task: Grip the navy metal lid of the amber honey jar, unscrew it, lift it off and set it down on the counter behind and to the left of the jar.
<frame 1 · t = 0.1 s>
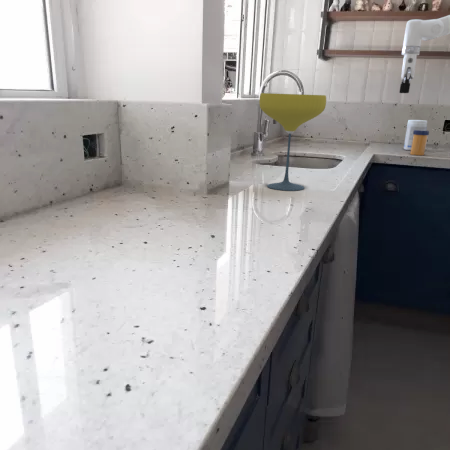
hand: (403, 93, 223), 27 cm above the worktop, tool pointing down, fingers open, 9 cm apart
honey jar: (417, 154, 234), on the worktop
supplement tub: (412, 150, 253), on the worktop
jar lid: (421, 131, 229), point 11 cm above the worktop, screwed on, not yet turned
cocktail glass: (285, 187, 141), on the worktop
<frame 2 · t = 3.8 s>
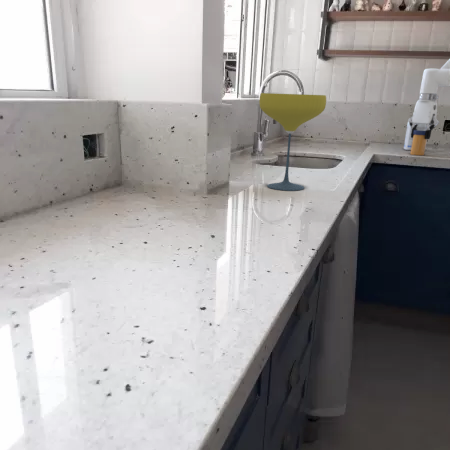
hand: (420, 138, 231), 8 cm above the worktop, tool pointing down, fingers closed on jar lid, 6 cm apart
jar lid: (421, 131, 229), point 11 cm above the worktop, screwed on, not yet turned, touching gripper
everything else where it was.
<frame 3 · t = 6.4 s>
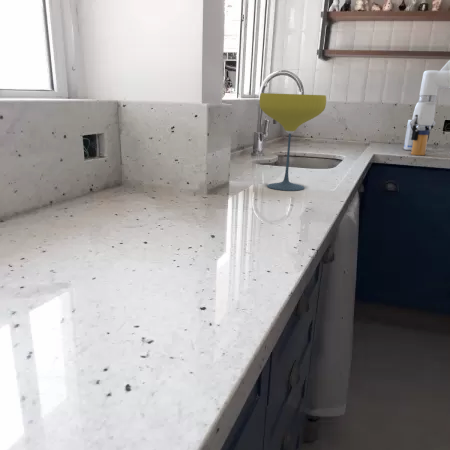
hand: (419, 139, 231), 7 cm above the worktop, tool pointing down, fingers closed on jar lid, 6 cm apart
honey jar: (418, 154, 233), on the worktop, touching gripper
jar lid: (421, 130, 229), point 11 cm above the worktop, turned 83° so far, risen 0.1 cm, still on its thread, touching gripper
everything else where it was.
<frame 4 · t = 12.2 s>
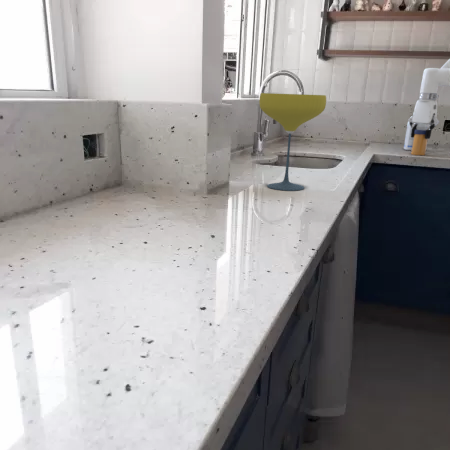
hand: (420, 137, 230), 8 cm above the worktop, tool pointing down, fingers closed on jar lid, 6 cm apart
honey jar: (417, 154, 234), on the worktop
jar lid: (422, 130, 229), point 11 cm above the worktop, turned 159° so far, risen 0.2 cm, still on its thread, touching gripper
everything else where it was.
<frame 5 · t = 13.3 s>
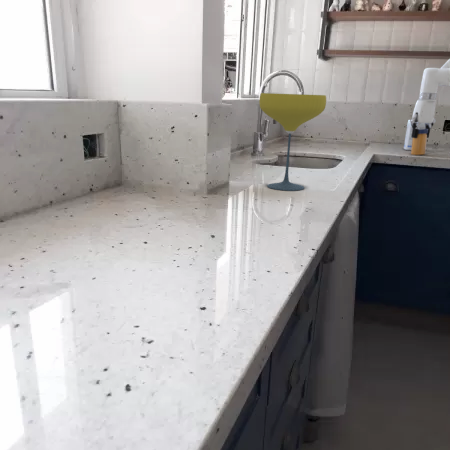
hand: (419, 137, 230), 8 cm above the worktop, tool pointing down, fingers closed on jar lid, 7 cm apart
honey jar: (417, 153, 234), on the worktop, touching gripper
jar lid: (420, 129, 230), point 11 cm above the worktop, turned 241° so far, risen 0.3 cm, still on its thread, touching gripper
everything else where it was.
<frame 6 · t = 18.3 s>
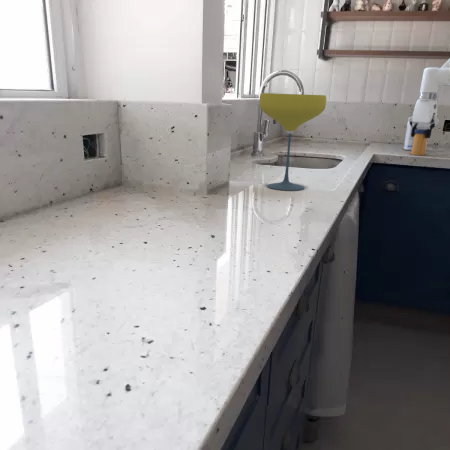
hand: (420, 137, 230), 8 cm above the worktop, tool pointing down, fingers closed on jar lid, 6 cm apart
honey jar: (417, 154, 234), on the worktop
jar lid: (422, 130, 229), point 11 cm above the worktop, turned 323° so far, risen 0.4 cm, still on its thread, touching gripper
everything else where it was.
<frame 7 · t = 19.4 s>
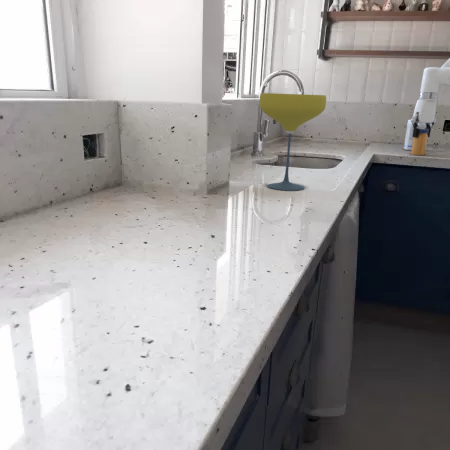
hand: (420, 136, 230), 8 cm above the worktop, tool pointing down, fingers closed on jar lid, 6 cm apart
jar lid: (421, 129, 230), point 11 cm above the worktop, off its thread, touching gripper
everything else where it was.
when the fingers open (0 cm above the worktop, at t = 27.8 s): jar lid drops 2 cm, point 1 cm above the worktop.
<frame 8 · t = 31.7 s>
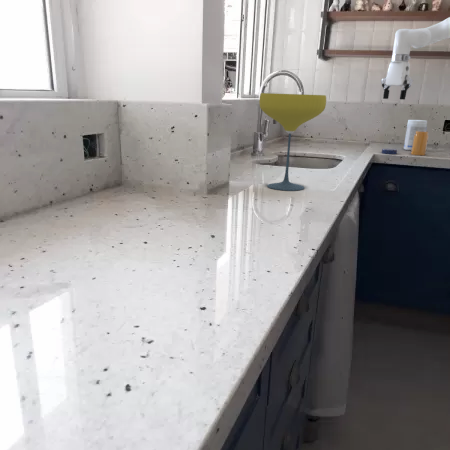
hand: (393, 99, 231), 24 cm above the worktop, tool pointing down, fingers open, 9 cm apart
jar lid: (389, 150, 234), point 1 cm above the worktop, off its thread
everything else where it was.
at the end: jar lid came off its thread; jar lid point 1.5 cm above the worktop; the gripper is holding nothing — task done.
